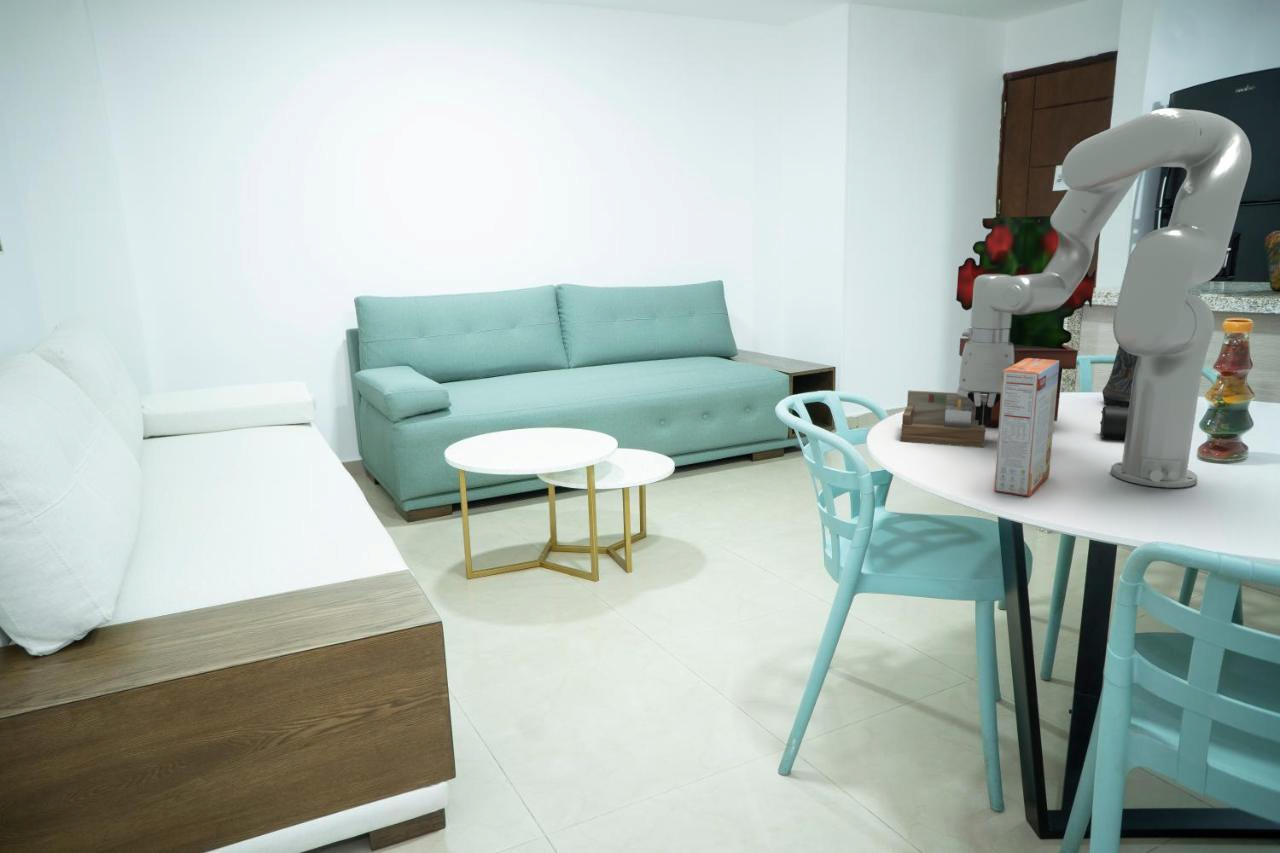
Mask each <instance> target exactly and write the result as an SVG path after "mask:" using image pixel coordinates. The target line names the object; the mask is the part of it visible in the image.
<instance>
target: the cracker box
mask: <svg viewBox="0 0 1280 853" xmlns="http://www.w3.org/2000/svg"><path fill="white" fill-rule="evenodd" d="M1058 371H1059V360H1046V359H1037V358H1026V359H1023V360H1022V361H1020V362H1018V363H1016V364H1014V365H1013V366H1011V367H1009V368H1007V369H1005V370H1003V372H1002V387H1001V402H1000V416H999V427H998V433H997V446H996V459H995V477H994V484H993V485H994V489H993V490H994V492H997V493H1001V494H1010V495H1016V496H1022V497H1031V496H1032V494H1033V493H1034V492H1035V491H1036V490H1037V489H1038V488H1039V487H1040V486H1041V485H1042V484H1043V482H1044V481H1046V479H1047V478H1049V476H1050V471H1051V470H1050V469H1051V460H1052V448H1053V447H1052V446H1053V438H1054V436H1053V435H1054V424H1055V421H1054V415H1055V404H1056V393H1057V383H1058Z"/></svg>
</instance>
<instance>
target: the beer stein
mask: <svg viewBox="0 0 1280 853" xmlns="http://www.w3.org/2000/svg"><path fill="white" fill-rule="evenodd" d="M1138 357H1139V356H1136V355H1133V354H1130V353H1128V352H1126V351H1125V350H1123V349H1122V348H1121V347H1120V346H1119V345H1118V346H1117V351H1116V355H1115V358H1114V361H1113V365H1112V370H1111V372H1110V375H1109V379H1108V380H1107V382H1106V384H1105V386H1104V388H1103V389H1102V398H1103V404H1104V406H1105V405H1106V406H1109V405H1110V406H1119V407H1123V408H1129V404H1130V396H1131V388H1132V382H1133V375H1134V370H1135V366H1136V363H1137V360H1138Z"/></svg>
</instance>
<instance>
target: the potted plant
mask: <svg viewBox="0 0 1280 853" xmlns="http://www.w3.org/2000/svg"><path fill="white" fill-rule="evenodd" d="M1051 216H1052V215H1044V216H1043V215H1041V216H1008V217H1007V216H1001V217H999V216H996V217H995V216H994V217H991V218H990V217H987V218H982V222H981V223H982V226H983V228H985V229H986V230H991V231H990V232H989V233H987V234H986V236H985V239H984V240H979V241H975V243H974V244H973V246H972V251H973V252H974V254H976V255H979V260H978V261H979V262H978V264H977V262H976V261H977V260H975V259H974V258H973V257H967V258H966V259H965V261H964V262H963V264H962V265H960V266H958V268H957V269H958V270H957V284H956V298H955V300H956V301H957V302H959V303H960V306H961V308H962V309H963V310H964V311H969V310H972V301H973V288H974V281H975V279H976V278H977V277H978V276H980V275H984V274H1006V275H1010V276H1019V275H1029V274H1040V273H1042V272H1043V271H1044V269H1045V268H1046V266H1047V265H1048V263H1049V262H1050V260H1051V259H1052V257H1053V255H1054V253H1055V251H1056V249H1057V246H1058V234H1057V232H1056V231H1055V230H1054V229H1053V227H1052V226H1051V223H1050V219H1051ZM1095 278H1096V269H1094V270H1093V272H1092V274H1091V276H1089V274H1088V271H1087V273H1086V275H1085V276H1084V278H1083V279H1082V281H1081V282H1080V284H1079V285H1078V286H1077V288H1076V289H1075V291H1074V292H1073V293H1072V295H1071V296H1070V297H1069V299H1068V300H1067V301H1066V302H1065V303H1064V304H1063V305H1061V306H1060V307H1059V308H1057V309H1055V310H1052V311H1048V312H1040V313H1033V314H1026V315H1015V314H1012V322H1011V333H1010V343H1013V345H1014V354H1015V364H1016V363H1018V362H1020V361H1022V360H1023V359H1026V358H1037V359H1046V360H1059V371H1058V383H1057V393H1056V404H1055V415H1054V422H1057V421H1058V415H1059V405H1060V397H1061V396H1060V395H1061V388H1062V387H1061V386H1062V374H1063V370H1076V369H1077V360H1078V351H1079V350H1077V349H1075V348H1073V347H1072V346H1071V347H1070V346H1068V345H1066V344H1068V343H1070V342H1071V340H1072V337H1073V336H1072V334H1071V332H1070V331H1069V330H1067V329H1065V327H1064V325H1065V319H1066V318H1070V317H1072V316H1073V315H1074V314H1075V311H1076V310H1079V309H1082V308H1083V307H1085V306H1084V305H1086V302H1088V305H1089V307H1090V308H1092V303H1093V296H1094V290H1095V289H1094V287H1095V280H1096V279H1095ZM969 339H970V338H968V337H960V339H959V349H958V350H959V351H958V352H959V353H958V355H959V356H960V357H961V358H962V354H963V349H964V346H965V343H966V342H968V341H969ZM981 394H987V401H988V397H989V393H981ZM996 394H997V393H996ZM1000 402H1001V400H999V401H998V402H997V403H996V404H994V405H993V406H992V410H991V421H987V425H986V426H985V427H991V426H999V416H1000Z"/></svg>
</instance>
